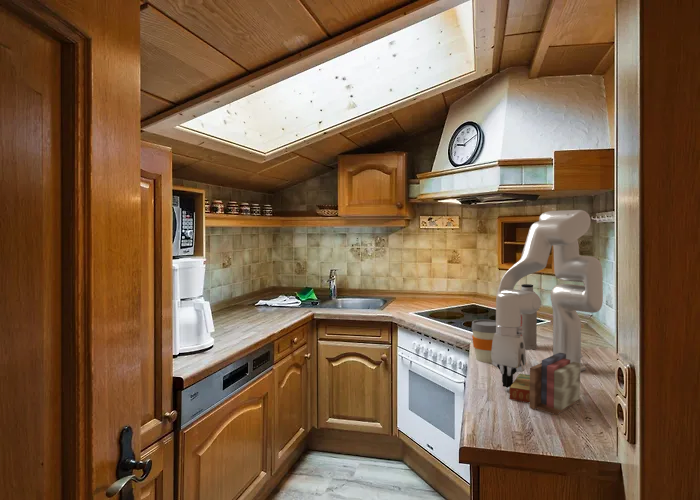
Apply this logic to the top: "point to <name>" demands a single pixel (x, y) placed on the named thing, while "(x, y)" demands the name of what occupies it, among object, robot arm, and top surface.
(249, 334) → the top surface
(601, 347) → the top surface
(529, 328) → the thermos bottle
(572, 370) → the bookend
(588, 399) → the top surface
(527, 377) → the carton
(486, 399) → the top surface
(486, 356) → the reusable coffee cup
